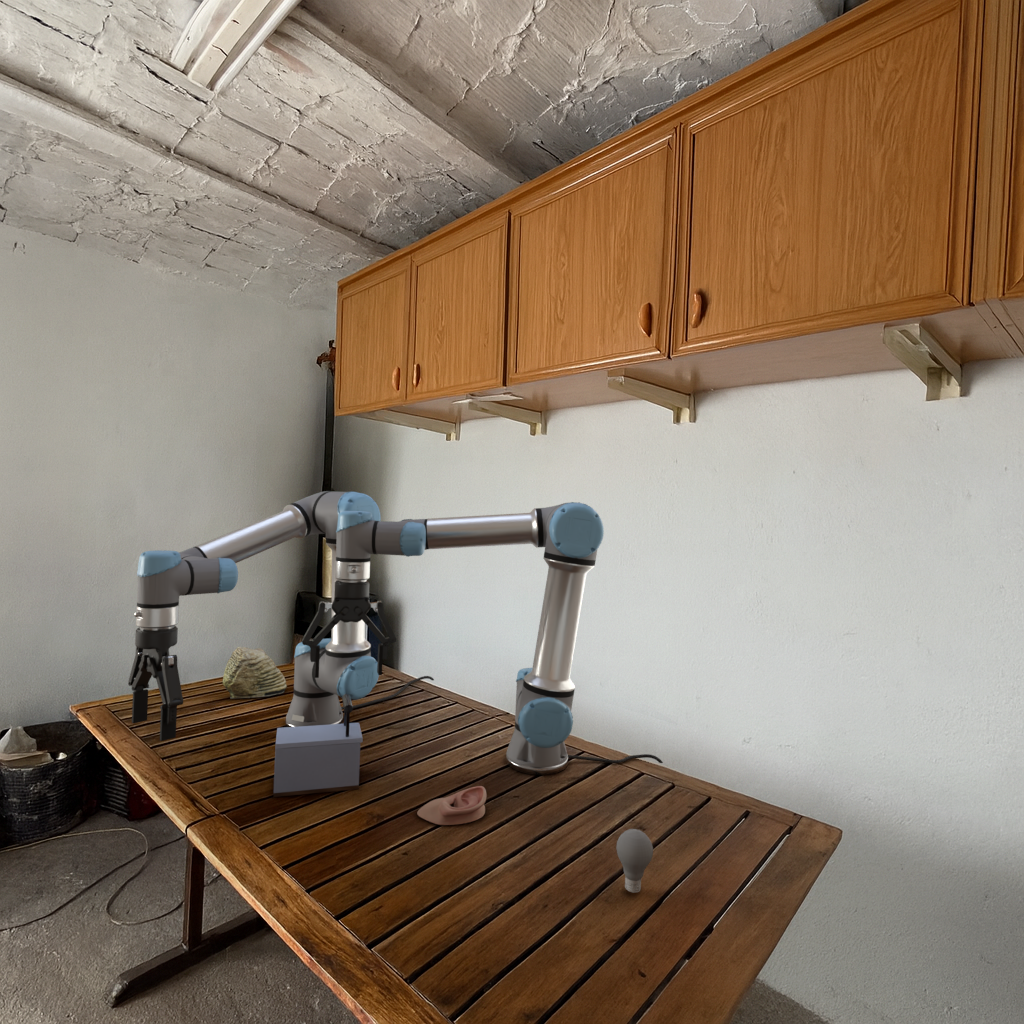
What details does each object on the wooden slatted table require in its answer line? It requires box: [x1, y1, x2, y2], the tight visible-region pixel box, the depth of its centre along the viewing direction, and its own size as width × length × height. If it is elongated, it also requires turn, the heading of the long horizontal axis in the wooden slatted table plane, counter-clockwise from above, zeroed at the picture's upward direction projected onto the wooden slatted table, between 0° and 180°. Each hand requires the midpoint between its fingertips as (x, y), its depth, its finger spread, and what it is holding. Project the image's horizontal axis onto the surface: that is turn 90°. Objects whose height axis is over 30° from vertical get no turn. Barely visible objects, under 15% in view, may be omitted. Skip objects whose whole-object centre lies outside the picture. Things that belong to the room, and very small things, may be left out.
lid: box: [274, 694, 363, 749], centre depth 140 cm, size 18×10×8 cm, turn 108°
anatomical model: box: [416, 785, 488, 826], centre depth 129 cm, size 13×4×12 cm
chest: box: [273, 742, 361, 798], centre depth 140 cm, size 17×10×10 cm, turn 108°
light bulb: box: [615, 828, 654, 894], centre depth 106 cm, size 6×6×10 cm
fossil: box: [222, 646, 288, 699], centre depth 198 cm, size 9×18×15 cm, turn 132°
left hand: (153, 730), depth 130 cm, fingers open, 13 cm apart
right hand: (348, 675), depth 141 cm, fingers open, 13 cm apart
